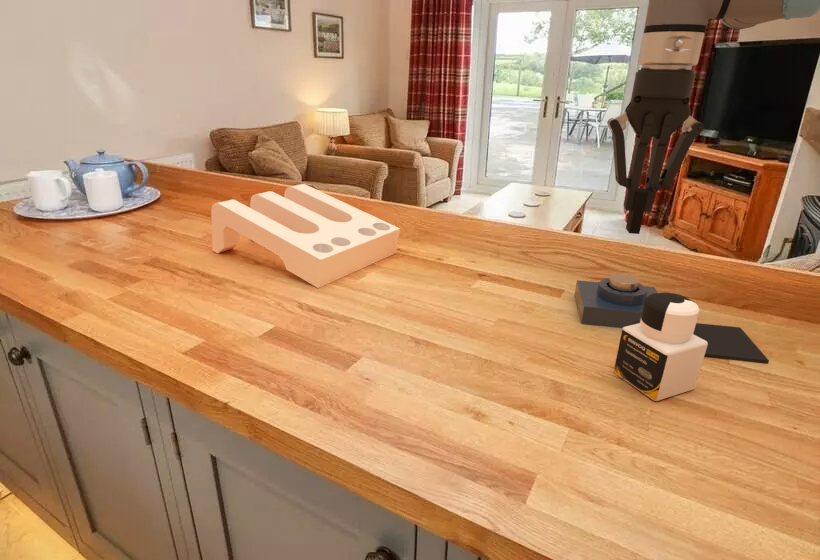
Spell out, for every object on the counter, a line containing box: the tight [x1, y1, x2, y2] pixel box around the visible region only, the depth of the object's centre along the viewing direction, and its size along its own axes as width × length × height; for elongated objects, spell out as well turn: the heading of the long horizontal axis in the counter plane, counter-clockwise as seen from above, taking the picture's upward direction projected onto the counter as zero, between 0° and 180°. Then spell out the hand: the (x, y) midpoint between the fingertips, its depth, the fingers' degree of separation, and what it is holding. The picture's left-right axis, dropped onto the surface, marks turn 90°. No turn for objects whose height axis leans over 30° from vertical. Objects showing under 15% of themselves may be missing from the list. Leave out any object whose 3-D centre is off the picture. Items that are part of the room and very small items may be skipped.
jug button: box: [608, 273, 640, 293], centre depth 81 cm, size 4×4×2 cm
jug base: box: [574, 277, 659, 329], centre depth 82 cm, size 13×11×5 cm
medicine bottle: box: [613, 292, 708, 402], centre depth 62 cm, size 7×7×12 cm
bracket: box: [210, 183, 401, 289], centre depth 107 cm, size 24×12×32 cm
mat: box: [693, 322, 770, 365], centre depth 74 cm, size 10×10×1 cm
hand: (632, 230), depth 77 cm, fingers closed
